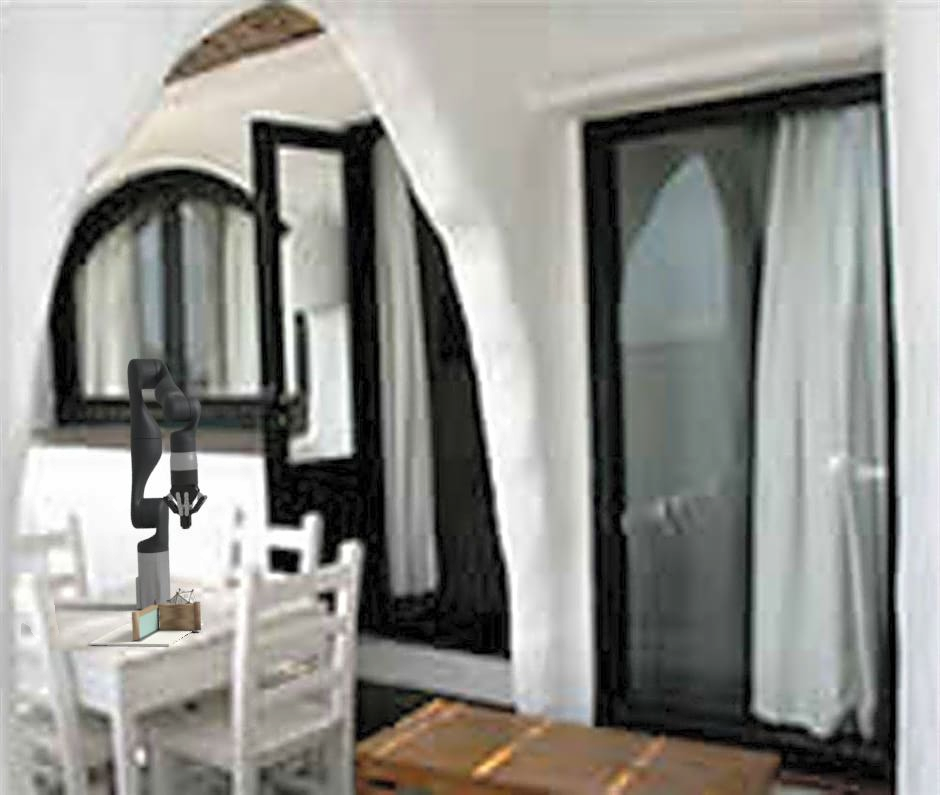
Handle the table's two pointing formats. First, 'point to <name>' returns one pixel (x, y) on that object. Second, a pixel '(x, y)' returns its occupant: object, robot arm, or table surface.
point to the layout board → (125, 638)
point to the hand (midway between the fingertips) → (186, 528)
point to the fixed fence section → (179, 616)
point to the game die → (183, 597)
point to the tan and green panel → (144, 622)
